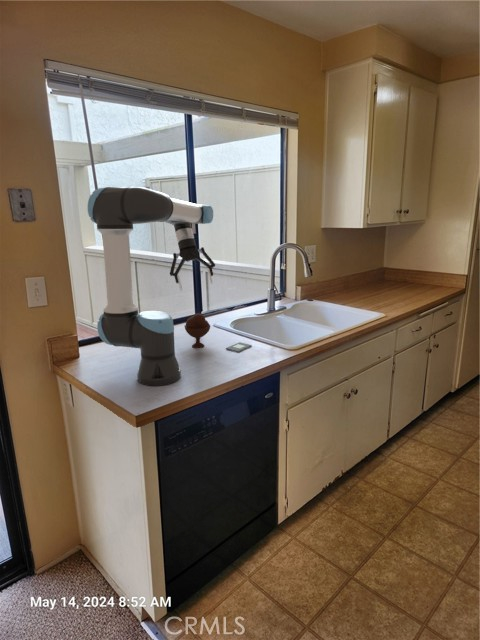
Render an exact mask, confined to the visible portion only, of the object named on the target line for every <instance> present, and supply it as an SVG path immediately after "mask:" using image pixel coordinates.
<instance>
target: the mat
mask: <svg viewBox="0 0 480 640" xmlns="http://www.w3.org/2000/svg"><path fill="white" fill-rule="evenodd" d="M252 346H253V345H252V344H248V343H245V342H236V343H234V344H232V345H231V346H230V345H229V346H227V347H225V350H227V351H231V352H235V353H240V352H242V351H245V350H248V349H249V348H252Z"/></svg>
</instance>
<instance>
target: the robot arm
mask: <svg viewBox="0 0 480 640" xmlns="http://www.w3.org/2000/svg"><path fill="white" fill-rule="evenodd" d="M87 213H88V216H89V218H90V220H91V221H92V223H93V224H96V229H97V231H98V232H99V233H100V234H101V236H102V247H103V259H104V261H103V262H104V271H105V276H104V277H105V285H106V286H105V287H106V299H107V305H106V306H105V308H103V313H102V314H100V316H99V318H98V321H97V325H96V326H97V327H96V329H97V333H98V336H99V338H100V340H101V341H102V342H103V343H104V344H107V345H109V346H114V347H122V348H124V347H125V348H131V349H132V348H133V349H140V356H141V357H140V363H139V365H138V366H139V367H138V369H137V374H136V375H137V381H138V382H139V384H142V385H145V386H150V387H151V386H152V387H159V386H166V385H171V384H174V383H176V382H177V381H178V380H180V379H181V376H182V370H181V368H180V366H179V365H180V364H179V362H178V360H177V358H176V352H175V351H176V350H175V325H174V319H173V317H172V316H171V314H169V313H167V312H164V311H158V310H144V311H141V312H139V309H138V307H137V305H135V304H134V296H133V281H132V280H133V279H132V261H131V260H132V259H131V247H130V234H131V233H132V231H134V225H140V224H141V225H142V224H150V223H164V222H165V223H167V224H169V225H173V227H174V231H175V236H176V241H177V245H178V250H179V252H178V253H176V252H173V254H172V255H173V259H172V264H171V267H170V270H169V276H171V277H174V279H175V283H176V284H178V286H179V290H180V291H183V288H182V283H181V278H180V275H179V273H180V271H181V269H182V267H183V265H184V264H185V262H187V263H188V262H192V261H195V260H197V262H200V264H202V265H203V266H204V267H206V268H207V273H208V278H209V282H210V284H211V285H213V283H214V282H213V276H214V272H213V268H215V267H216V263H215V262H214V260H213V259H212V258H211V257H210V255H208V253H206V251H205V248H204V247H201V248H197V245H196V240H195V236H194V232H193V228H192V224H200V225H205V224H211V223H213V220H214V208H213V207H212V205H211V204H198V203H193V202H189V201H185V200H180V199H177V198H171V197H170V195H168V194H167V193H164V192H160V191H156V190H154V189H150V188H147V187H143V186H142V187H141V186H106V187H99V188H96V189H94V190H93V191H92V193H90V195H89V197H88V201H87ZM199 253H200V254H202V255H203V256H204V258H205V260H207V261H208V262H207V261H205V260H204V259H203V258H201V257H200V256H199ZM179 257H180V258H181V260H180V261H179V264H178V266H177V268H176V270H175V267H176V264H177V259H179Z"/></svg>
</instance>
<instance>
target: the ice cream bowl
mask: <svg viewBox="0 0 480 640" xmlns="http://www.w3.org/2000/svg"><path fill="white" fill-rule="evenodd" d="M184 329H185V332H186V333H187V334H188V335H189V336H190V337H192V338H195V343H193V344H191V347H192V348H193V349H202V348H204V347H205V344H204V343H202V342H201V338H203V337H204V336H206V335H207V334H208V332H210V329H211V324H210V323H209V321H208V320H206V318H205V315H204V314H203V313H197V312H196V313H195V314H194V315H191V316H190V317H189V318H187V320H186V322H185V325H184Z"/></svg>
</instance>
